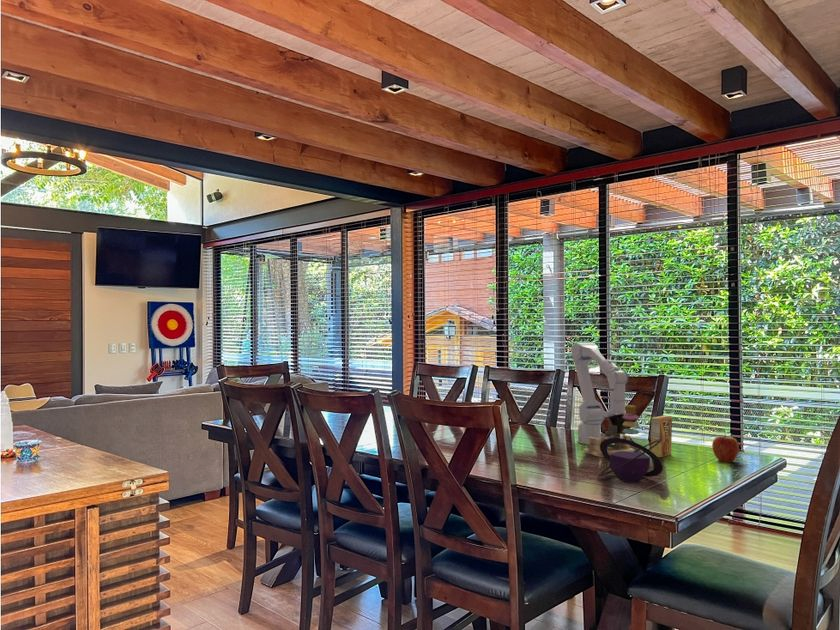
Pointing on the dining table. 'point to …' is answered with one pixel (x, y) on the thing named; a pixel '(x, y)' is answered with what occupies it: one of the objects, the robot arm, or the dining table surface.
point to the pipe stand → (595, 447)
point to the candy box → (661, 435)
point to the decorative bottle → (630, 455)
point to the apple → (725, 448)
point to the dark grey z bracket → (613, 431)
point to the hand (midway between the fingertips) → (617, 433)
